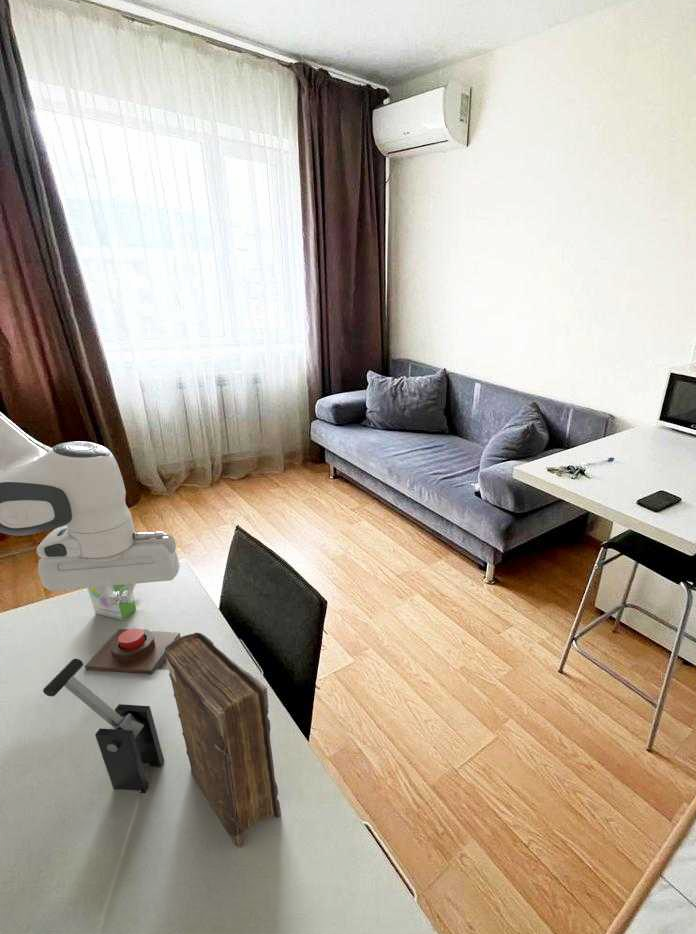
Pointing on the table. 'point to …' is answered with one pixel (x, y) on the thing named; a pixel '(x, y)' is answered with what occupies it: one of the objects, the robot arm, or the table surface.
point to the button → (131, 639)
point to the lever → (90, 698)
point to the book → (224, 732)
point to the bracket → (130, 750)
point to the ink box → (112, 611)
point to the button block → (133, 654)
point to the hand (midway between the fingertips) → (121, 602)
